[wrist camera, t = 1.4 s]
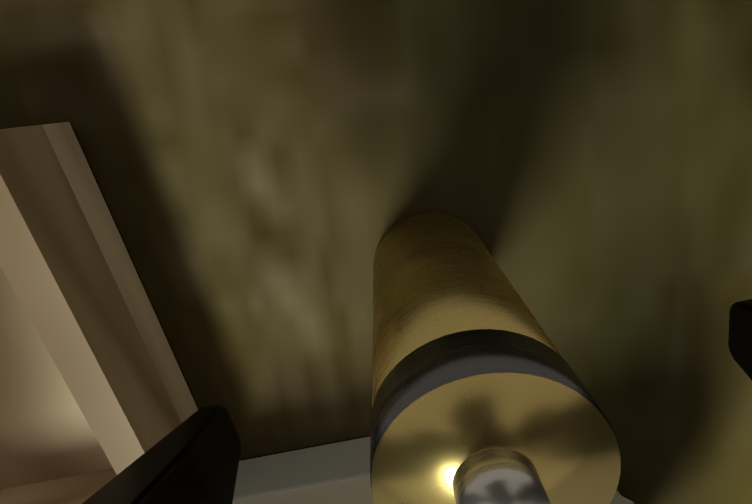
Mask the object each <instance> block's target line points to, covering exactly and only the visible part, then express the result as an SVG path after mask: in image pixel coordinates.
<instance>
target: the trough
mask: <svg viewBox="0 0 752 504" xmlns="http://www.w3.org/2000/svg"><path fill="white" fill-rule="evenodd" d="M197 410H198V408H197V406H196V404H195V401H194V399H193V397H192V395H191V392H190V390H189V388H188V386H187V384H186V381H185V379H184V377H183V375H182V372H181V370H180V368H179V366H178V363H177V361H176V359H175V357H174V355H173V352H172V350H171V348H170V346H169V343H168V341H167V339H166V337H165V334H164V332H163V330H162V328H161V326H160V323H159V321H158V319H157V317H156V314H155V312H154V310H153V308H152V305H151V303H150V301H149V299H148V296H147V294H146V292H145V290H144V288H143V285H142V283H141V281H140V279H139V276H138V274H137V272H136V270H135V267H134V265H133V263H132V261H131V259H130V256H129V254H128V252H127V250H126V247H125V245H124V243H123V241H122V238H121V236H120V234H119V232H118V229H117V227H116V225H115V223H114V221H113V218H112V216H111V214H110V212H109V209H108V207H107V205H106V203H105V200H104V198H103V196H102V194H101V192H100V189H99V187H98V185H97V183H96V180H95V178H94V176H93V174H92V171H91V169H90V167H89V165H88V163H87V160H86V158H85V156H84V154H83V151H82V149H81V147H80V145H79V142H78V140H77V138H76V136H75V133H74V131H73V129H72V127H71V125H70V122H62V123H53V124H43V125H34V126H25V127H16V128H6V129H0V504H82V503H83V502H84V501H85V500H87V499H88V498H89V497H90V496H92V495H93V494H94V493H95V492H97V491H98V490H99V489H100V488H102V487H103V486H104V485H105V484H107V483H108V482H109V481H110V480H112V479H113V478H114V477H115V476H116V475H118V474H119V473H120V472H121V471H123V470H124V469H125V468H126V467H128V466H129V465H130V464H131V463H133V462H134V461H135V460H136V459H138V458H139V457H140V456H141V455H143V454H144V453H145V452H146V451H148V450H149V449H150V448H151V447H153V446H154V445H155V444H156V443H158V442H159V441H160V440H161V439H163V438H164V437H165V436H166V435H168V434H169V433H170V432H171V431H173V430H174V429H175V428H176V427H177V426H179V425H180V424H181V423H182V422H184V421H185V420H186V419H187V418H189V417H190V416H191V415H192V414H194V413H195V412H196V411H197Z"/></svg>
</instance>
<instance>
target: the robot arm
mask: <svg viewBox="0 0 752 504" xmlns="http://www.w3.org/2000/svg"><path fill="white" fill-rule="evenodd" d="M728 345H729V350H730V352H731V355H732V356H733V358H734V360H735V361H736V362H737V363H738V364H739V366H740V367H741V368H742V369H743V370H744V372H745V373H746V374H747V375H748V376H749V377H750V379H751V380H752V299H749V300H745V301H740V302H736V303H734V304H733V305H732V306H731V308H730V313H729V340H728ZM240 453H241V444H240V439H239V436H238V434H237V431H236V429H235V426H234V424H233V422H232V419H231V417H230V415H229V412H228V410H227V408H226V407H225V406H224V405H221V404H218V405H213V406H208V407H203V408H200V409H199V410H197V411H196V412H195V413H194V414H192V415H191V416H190V417H189V418H187V419H186V420H185V421H184V422H182V423H181V424H180V425H179V426H177V427H176V428H175V429H174V430H173V431H171V432H170V433H169V434H168V435H166V436H165V437H164V438H163V439H161V440H160V441H159V442H158V443H156V444H155V445H154V446H153V447H151V448H150V449H149V450H148V451H146V452H145V453H144V454H143V455H141V456H140V457H139V458H138V459H136V460H135V461H134V462H133V463H131V464H130V465H129V466H128V467H126V468H125V469H124V470H123V471H121V472H120V473H119V474H118V475H116V476H115V477H114V478H113V479H112V480H110V481H109V482H108V483H107V484H105V485H104V486H103V487H102V488H100V489H99V490H98V491H97V492H95V493H94V494H93V495H92V496H90V497H89V498H88V499H87V500H85V501H84V502H83V503H82V504H232V503H233V497H234V491H235V484H236V478H237V472H238V466H239V459H240Z"/></svg>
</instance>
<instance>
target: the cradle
mask: <svg viewBox="0 0 752 504" xmlns="http://www.w3.org/2000/svg"><path fill="white" fill-rule="evenodd" d="M232 504H375V503H374V498H373V494H372V490H371V485H370V437H364V438H359V439H354V440H348V441H343V442H338V443H332V444H327V445H322V446H316V447H311V448H306V449H300V450H295V451H290V452H284V453H279V454H274V455H268V456H263V457H258V458H253V459H247V460H242V461H239V466H238V472H237V478H236V484H235V491H234V497H233V503H232Z"/></svg>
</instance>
